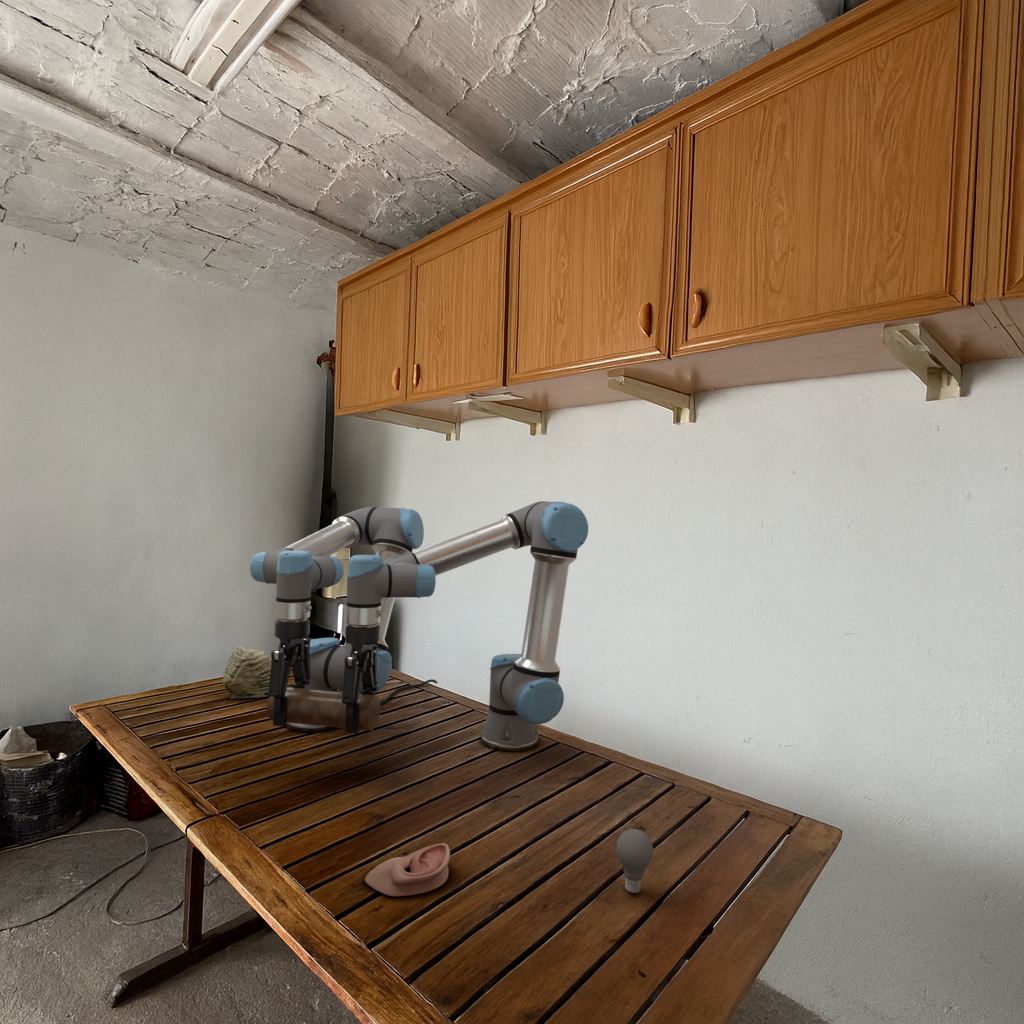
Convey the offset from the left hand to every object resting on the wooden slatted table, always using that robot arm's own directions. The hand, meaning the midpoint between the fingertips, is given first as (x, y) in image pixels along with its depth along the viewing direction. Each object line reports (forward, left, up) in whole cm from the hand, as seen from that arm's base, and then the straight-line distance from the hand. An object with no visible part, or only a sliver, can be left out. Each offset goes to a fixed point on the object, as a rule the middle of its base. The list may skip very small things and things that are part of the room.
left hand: (289, 718), depth 144 cm
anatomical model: (+8, +50, -12) cm, 52 cm away
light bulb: (-14, +80, -12) cm, 82 cm away
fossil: (-24, -56, -12) cm, 62 cm away
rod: (-4, +7, 0) cm, 8 cm away
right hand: (-8, +15, 0) cm, 17 cm away
